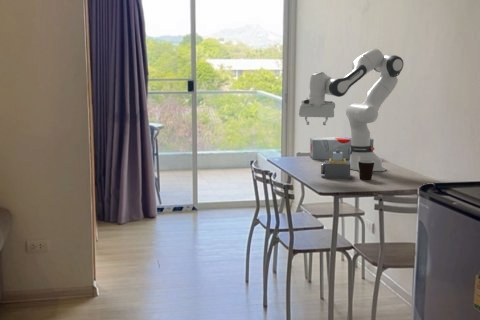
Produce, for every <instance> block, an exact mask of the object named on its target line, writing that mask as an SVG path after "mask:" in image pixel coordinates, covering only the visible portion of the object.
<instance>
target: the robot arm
mask: <svg viewBox="0 0 480 320" xmlns="http://www.w3.org/2000/svg"><path fill="white" fill-rule="evenodd" d="M404 63H405V62H404V59H402V57H400V56H398V55H395V54H383V53H382V51H381V50H380V49H378V48H372V49H369V50H367V51H365V52H364V53H362V54H360V55H359V56H357V57H356V58H355V59H354V60H353V61H352V64H351V68H352V71H350V72H349V73H348V74H347V75H345V76H344V77H340V78H334V77H333V78H332V77H331V76H329V75H327V74H325V72H323V71H322V72H321V71H319V72H314V73H311V76H310V79H309V97H307V98H303V99H302V100H301V103H300V105H299V110H298V116H299V117H300V118H304V120H305V121H306V125H308V126H310V121H308V118H324V119H325V120H324V121H323V122H322V125H323V126H326V125H327V122H328V120H329V119H328V118H334V117H335V109H336V103H335V102H334V101H332V100H330V101H328V100H326V99H325V98H326V95H328V96H334V97H338V98H340V97H343V96H345V95H346V94H347V93H348V91H349V90H350V88H351V87H352V86H353V85H355V84H356V83H357V82H359V81H360V80H361V79H362V78H363V77H365V75H367V74H369V73H371V71H373V70H374V71H375V72H376V73H377V72H378V73H380V76H379V78H378V79H377V80H376V81H375V82H374V83H373V85H372V86H371V87H370V88H369V90H367V92H366V97H365V99H364V101H363V102H362V103H361V102H355V103H351V104H349V105H348V106H347V107H346V109H345V115H346V117H347V119H348V123H349V126H350V132H351V133H350V137H351V145H350V159H348V161H350V164H351V165H350V170H354V171H357V172H359V164H358V161H360V160H370V161H374V167H373V172H384V171H386V170H387V168H386V166H384V165H383V161H382V159H381V157H380V156H379V155H377V154H376V153H375V152H374V150H375V147H374V146H373V147H372V146H370V138H371V131H370V129H369V128H368V124H370V123H371V124H372V123H374V122H375V121H376V120H377V119H378V117H379V110H380V109H381V108H380V107H381V106H382V104H383V103H384V102H385V101H386V99H387V98H388V97H390V94H391V93H392V92H393V91H394V89H395V88H396V86H397V84H398V76H399V75H400V73H401V72H402V70H403V69H404ZM372 151H373V152H372Z"/></svg>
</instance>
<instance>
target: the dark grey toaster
mask: <svg viewBox="0 0 480 320" xmlns="http://www.w3.org/2000/svg"><path fill="white" fill-rule="evenodd" d="M350 165H351V164H350V161H349V160H347V159H343V158H342V161H333V158H329V159H324V163H320V175H323V176H324V178H325V179H348V180H349V179H351V169H350Z"/></svg>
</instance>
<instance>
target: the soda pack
mask: <svg viewBox="0 0 480 320" xmlns="http://www.w3.org/2000/svg"><path fill="white" fill-rule="evenodd" d="M350 145H351V136H331V137H327V136H325V137H322V136H321V137H318V136H317V137H316V136H315V137H314V136H313V137H309V157H310V158H311V159H312V160H315V161H316V160H329V158H333V152H336V150H340V152H342V158H343V159H346V160H350ZM370 146H372V147H374V138H372V137H370ZM372 152H374V150H373V151H372Z"/></svg>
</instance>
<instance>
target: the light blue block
mask: <svg viewBox="0 0 480 320" xmlns="http://www.w3.org/2000/svg"><path fill="white" fill-rule="evenodd" d="M333 161H342V152H340V150H336V152H333Z"/></svg>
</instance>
